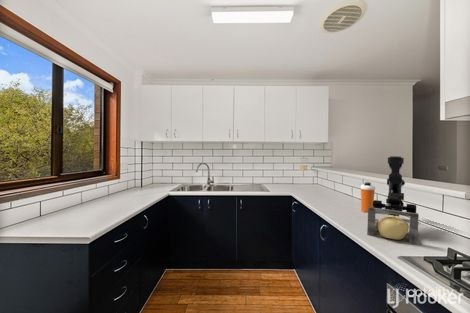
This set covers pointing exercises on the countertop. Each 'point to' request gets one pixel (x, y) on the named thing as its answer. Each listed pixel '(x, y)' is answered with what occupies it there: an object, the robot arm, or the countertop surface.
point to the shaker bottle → (367, 196)
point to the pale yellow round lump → (393, 227)
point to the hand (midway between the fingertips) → (392, 221)
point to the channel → (413, 216)
